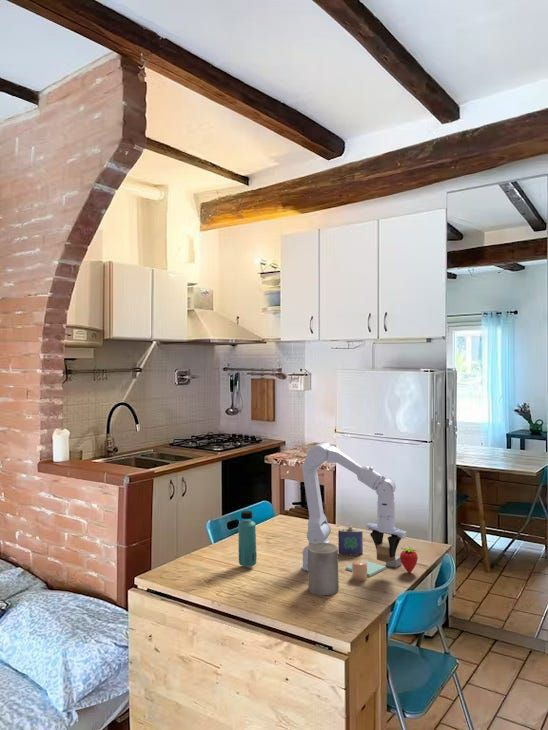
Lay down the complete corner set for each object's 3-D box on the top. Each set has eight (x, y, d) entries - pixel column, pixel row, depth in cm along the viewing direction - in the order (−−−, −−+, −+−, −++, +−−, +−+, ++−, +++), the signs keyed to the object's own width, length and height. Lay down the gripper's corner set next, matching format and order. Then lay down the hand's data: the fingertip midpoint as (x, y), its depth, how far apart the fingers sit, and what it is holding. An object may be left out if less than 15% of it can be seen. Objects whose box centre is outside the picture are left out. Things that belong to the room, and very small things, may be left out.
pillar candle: (319, 581, 187) (318, 536, 187) (344, 588, 181) (343, 542, 181) (302, 591, 180) (301, 544, 180) (327, 599, 174) (326, 550, 173)
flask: (362, 552, 215) (362, 524, 214) (363, 555, 212) (363, 527, 212) (338, 552, 215) (337, 524, 215) (338, 555, 212) (338, 527, 212)
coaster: (369, 576, 191) (369, 574, 191) (345, 569, 198) (345, 567, 198) (385, 568, 198) (385, 566, 198) (362, 561, 205) (362, 559, 205)
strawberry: (398, 575, 192) (397, 546, 192) (402, 567, 199) (402, 539, 199) (415, 578, 189) (415, 548, 189) (419, 570, 196) (419, 541, 196)
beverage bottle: (254, 571, 196) (253, 514, 196) (236, 570, 198) (235, 513, 198) (258, 564, 203) (258, 509, 203) (240, 563, 204) (240, 508, 204)
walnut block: (388, 562, 188) (388, 547, 188) (376, 559, 191) (376, 544, 191) (395, 559, 191) (395, 544, 191) (383, 556, 194) (383, 541, 194)
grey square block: (396, 568, 199) (395, 559, 199) (385, 565, 201) (385, 557, 201) (401, 564, 202) (401, 556, 202) (391, 562, 205) (391, 554, 205)
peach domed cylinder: (361, 582, 187) (361, 567, 186) (349, 578, 190) (349, 563, 190) (370, 577, 190) (370, 563, 190) (357, 574, 194) (357, 559, 194)
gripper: (411, 516, 189) (411, 556, 189) (374, 508, 199) (374, 546, 199) (400, 521, 184) (400, 562, 184) (362, 512, 194) (363, 552, 194)
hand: (385, 554), depth 191 cm, fingers closed on walnut block, 4 cm apart
